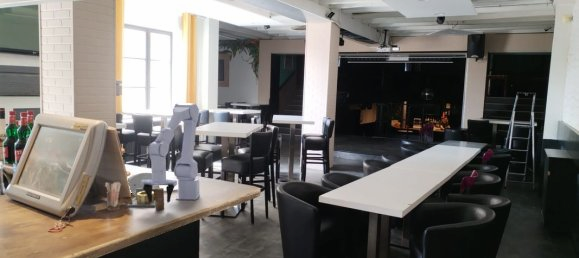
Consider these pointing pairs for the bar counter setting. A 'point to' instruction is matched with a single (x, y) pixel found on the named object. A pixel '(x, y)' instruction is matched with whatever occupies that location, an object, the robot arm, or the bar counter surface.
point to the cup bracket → (143, 199)
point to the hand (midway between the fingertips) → (159, 201)
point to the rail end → (159, 199)
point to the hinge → (139, 181)
